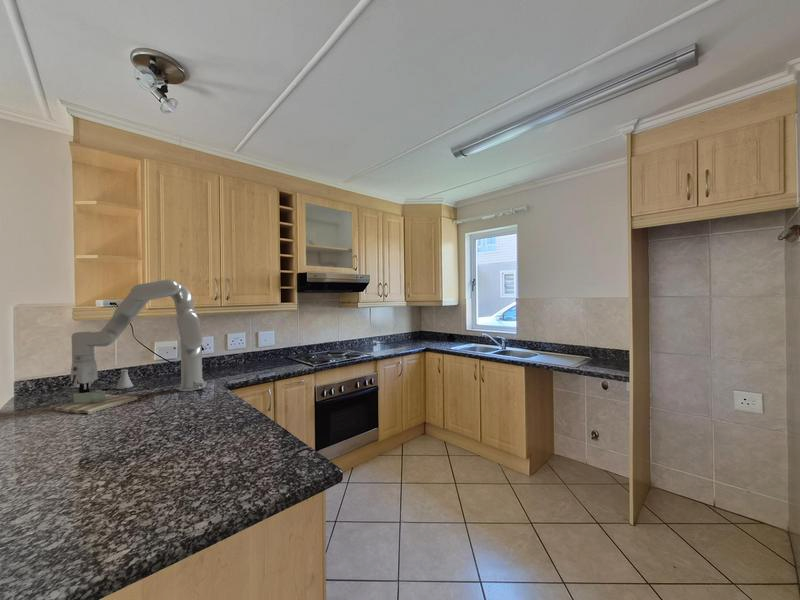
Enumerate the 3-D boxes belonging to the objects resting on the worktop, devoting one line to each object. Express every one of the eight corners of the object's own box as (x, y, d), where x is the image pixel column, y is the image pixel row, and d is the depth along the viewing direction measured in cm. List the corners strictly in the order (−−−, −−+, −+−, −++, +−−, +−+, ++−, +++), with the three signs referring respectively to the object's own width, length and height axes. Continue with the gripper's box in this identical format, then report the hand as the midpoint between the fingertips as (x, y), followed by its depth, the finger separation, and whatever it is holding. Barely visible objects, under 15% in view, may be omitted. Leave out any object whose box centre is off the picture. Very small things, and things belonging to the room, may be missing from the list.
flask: (123, 389, 176) (122, 371, 176) (112, 389, 177) (112, 371, 177) (136, 386, 183) (136, 368, 183) (126, 386, 184) (125, 368, 184)
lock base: (137, 399, 157) (137, 396, 157) (88, 414, 137) (88, 410, 137) (106, 397, 162) (106, 394, 162) (55, 411, 142) (55, 407, 142)
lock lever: (108, 399, 152) (107, 388, 152) (100, 402, 147) (100, 391, 147) (77, 401, 150) (77, 390, 150) (68, 404, 146) (68, 393, 146)
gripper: (80, 360, 144) (81, 401, 144) (104, 355, 159) (105, 392, 159) (60, 361, 143) (61, 403, 143) (86, 356, 158) (87, 393, 158)
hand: (84, 397), depth 151 cm, fingers closed
